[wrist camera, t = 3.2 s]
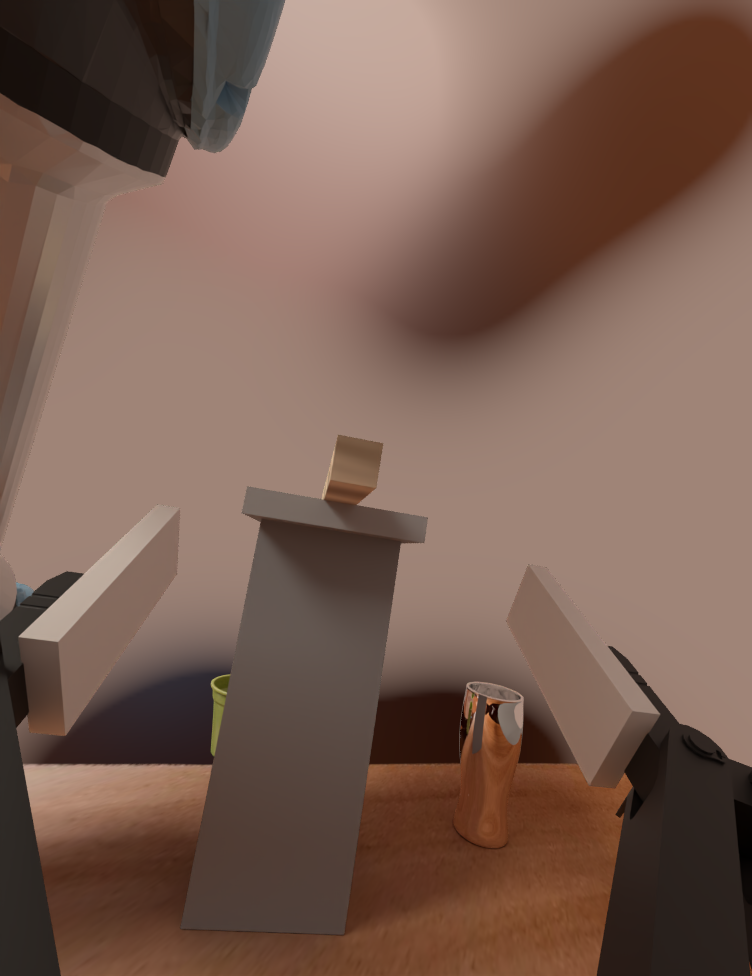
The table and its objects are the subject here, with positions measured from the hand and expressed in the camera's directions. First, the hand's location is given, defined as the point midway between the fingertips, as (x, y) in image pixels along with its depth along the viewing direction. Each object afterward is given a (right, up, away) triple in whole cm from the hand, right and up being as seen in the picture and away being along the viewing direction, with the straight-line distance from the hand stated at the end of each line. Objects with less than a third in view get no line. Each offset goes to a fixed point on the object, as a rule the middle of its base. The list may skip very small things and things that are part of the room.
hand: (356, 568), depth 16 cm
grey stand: (-8, -30, +19) cm, 37 cm away
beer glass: (+12, -36, +32) cm, 50 cm away
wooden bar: (-2, +1, +19) cm, 20 cm away
